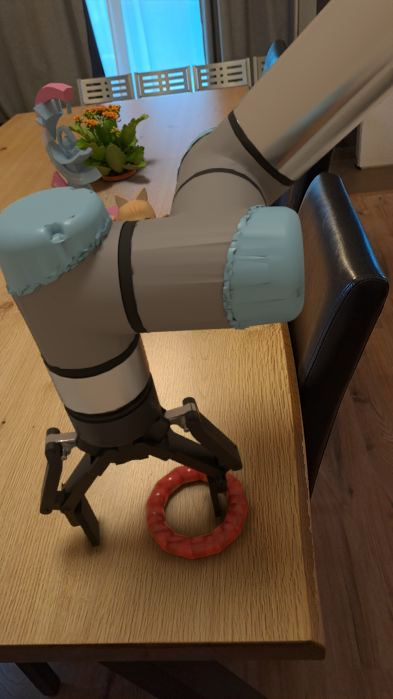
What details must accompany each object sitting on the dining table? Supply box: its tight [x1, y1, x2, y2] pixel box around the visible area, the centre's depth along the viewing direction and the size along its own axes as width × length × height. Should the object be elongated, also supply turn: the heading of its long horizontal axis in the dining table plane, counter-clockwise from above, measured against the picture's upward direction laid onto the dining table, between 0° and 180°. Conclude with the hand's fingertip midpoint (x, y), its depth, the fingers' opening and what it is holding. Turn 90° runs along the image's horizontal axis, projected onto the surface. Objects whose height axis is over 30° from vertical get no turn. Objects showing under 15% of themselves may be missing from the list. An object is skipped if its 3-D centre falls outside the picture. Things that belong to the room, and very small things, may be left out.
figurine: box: [110, 187, 157, 221], centre depth 90 cm, size 9×10×15 cm
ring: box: [144, 465, 249, 560], centre depth 54 cm, size 11×11×2 cm
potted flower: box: [66, 103, 150, 182], centre depth 128 cm, size 25×24×18 cm
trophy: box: [32, 82, 118, 221], centre depth 101 cm, size 20×17×30 cm
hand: (156, 520), depth 54 cm, fingers open, 13 cm apart
